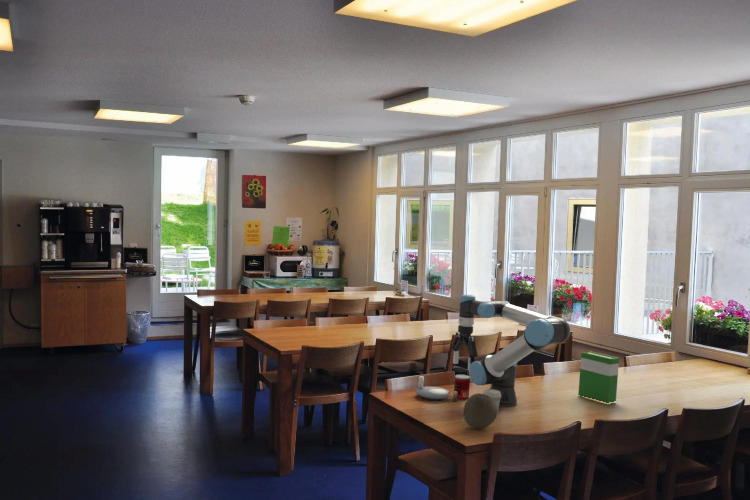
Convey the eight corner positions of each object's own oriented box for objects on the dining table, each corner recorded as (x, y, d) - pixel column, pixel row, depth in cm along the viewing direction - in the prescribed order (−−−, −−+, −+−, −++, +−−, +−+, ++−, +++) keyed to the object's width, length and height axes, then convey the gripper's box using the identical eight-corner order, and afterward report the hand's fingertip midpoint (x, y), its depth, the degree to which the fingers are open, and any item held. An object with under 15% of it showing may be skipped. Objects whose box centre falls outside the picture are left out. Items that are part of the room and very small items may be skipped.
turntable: (452, 391, 331) (453, 377, 331) (450, 400, 315) (451, 385, 314) (418, 388, 335) (419, 373, 334) (414, 396, 318) (415, 381, 318)
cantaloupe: (484, 436, 270) (486, 401, 269) (456, 427, 279) (458, 393, 279) (501, 429, 280) (504, 395, 280) (474, 421, 290) (476, 388, 289)
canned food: (470, 396, 331) (471, 375, 331) (467, 400, 324) (468, 379, 323) (455, 394, 334) (456, 373, 333) (452, 398, 326) (453, 376, 326)
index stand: (457, 401, 321) (458, 391, 320) (444, 405, 313) (445, 394, 313) (431, 393, 332) (432, 383, 332) (418, 397, 325) (419, 386, 325)
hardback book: (578, 396, 346) (581, 352, 345) (586, 394, 350) (589, 351, 349) (607, 405, 332) (611, 358, 331) (615, 403, 336) (619, 357, 335)
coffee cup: (479, 413, 302) (480, 388, 302) (496, 414, 303) (498, 389, 302) (483, 419, 294) (485, 393, 293) (501, 420, 294) (503, 394, 294)
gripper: (446, 321, 337) (443, 361, 338) (473, 329, 314) (470, 372, 315) (458, 321, 340) (455, 360, 341) (486, 329, 317) (483, 372, 318)
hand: (462, 366), depth 328 cm, fingers open, 13 cm apart
